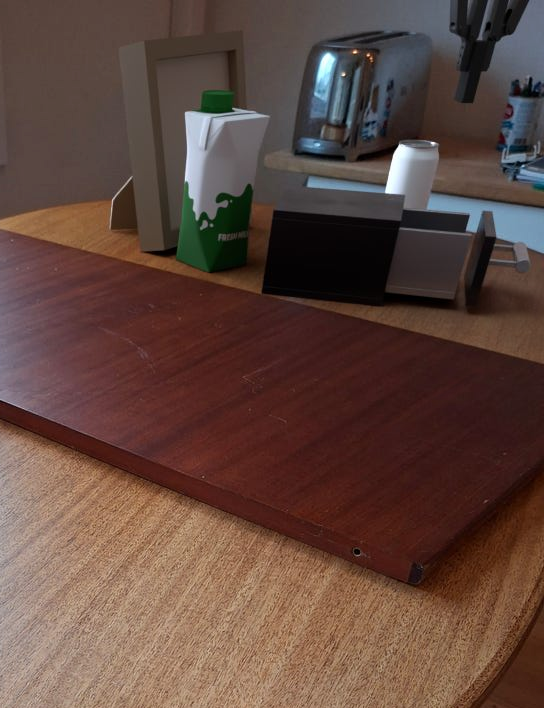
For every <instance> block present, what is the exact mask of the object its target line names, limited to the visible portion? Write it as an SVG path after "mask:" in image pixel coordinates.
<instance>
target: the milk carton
mask: <svg viewBox="0 0 544 708" xmlns="http://www.w3.org/2000/svg"><path fill="white" fill-rule="evenodd" d="M233 99H234V92H231V91H224V90H208V91H203V92H202V101H201V109H199V110H192V111H188V112H185V121H186V136H187V161H186V173H185V185H184V196H183V208H182V219H181V227H180V234H179V241H178V246H177V249H176V256H175V260H177V261H178V262H180V263H184V264H187V265H189V266H191V267H194V268H196V269H199V270H201V271H204V272H205V273H206V272H207V273H212V272H213V273H214V272H217V271H222V270H228V269H232V268H237V267H242V266H247V265H248V258H249V257H248V255H249V236H250V235H249V233H250V223H251V222H250V214H251V206H253V199H254V190H255V183H256V175H257V169H258V160H259V154H260V150H261V147H262V145H263V144H262V143H263V141H264V138H265V134H266V131H267V128H268V124H269V122H270V118H271V116H270V115H266V114H262V113H258V112H257V111H254V110H248V109H247V110H242V109H236V108H233ZM249 222H250V223H249Z"/></svg>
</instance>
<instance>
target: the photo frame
mask: <svg viewBox="0 0 544 708" xmlns="http://www.w3.org/2000/svg"><path fill="white" fill-rule="evenodd" d="M118 56H119V57H118V58H119V65H120V75H121V84H122V94H123V102H124V111H125V112H124V113H125V120H126V121H125V123H126V131H127V140H128V149H129V150H128V151H129V158H130V159H129V160H130V168H131V176H130V177H129V179H127V180H126V182H125V183H124V185H123V186H122V187H121V188H120V189H119V190H118V192H117V193H116V194H115V195H114V197H113V198H112V199H111V209H110V219H109V228H108V229H109V231H123V230H124V231H125V230H137V232H138V242H139V251H140V253H141V252H156V251H166V250H169V249H173V248H175V247H178V241H179V234H180V227H181V219H182V208H183V196H184V185H185V173H186V161H187V136H186V121H185V112H188V111H192V110H199V109H201V101H202V92H203V91H208V90H224V91H231V92H234V99H233V108H236V109H242V110H247V111H248V107H247V106H248V105H247V85H246V64H245V63H246V62H245V46H244V29H242V30H241V29H240V30H231V31H223V32H222V31H221V32H212V33H204V34H195V35H185V36H175V37H165V38H164V37H163V38H155V39H147V40H146V39H145V40H142V41H137V42H134V43H129V44H126V45H122V46H118ZM252 206H253V205H252ZM252 206H251V214H250V222H249V224H250V223H252V222H253V212H252V211H253V209H252V208H253V207H252Z"/></svg>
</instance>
